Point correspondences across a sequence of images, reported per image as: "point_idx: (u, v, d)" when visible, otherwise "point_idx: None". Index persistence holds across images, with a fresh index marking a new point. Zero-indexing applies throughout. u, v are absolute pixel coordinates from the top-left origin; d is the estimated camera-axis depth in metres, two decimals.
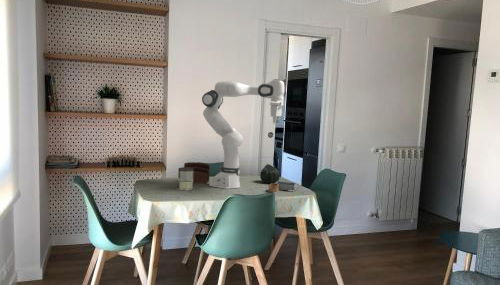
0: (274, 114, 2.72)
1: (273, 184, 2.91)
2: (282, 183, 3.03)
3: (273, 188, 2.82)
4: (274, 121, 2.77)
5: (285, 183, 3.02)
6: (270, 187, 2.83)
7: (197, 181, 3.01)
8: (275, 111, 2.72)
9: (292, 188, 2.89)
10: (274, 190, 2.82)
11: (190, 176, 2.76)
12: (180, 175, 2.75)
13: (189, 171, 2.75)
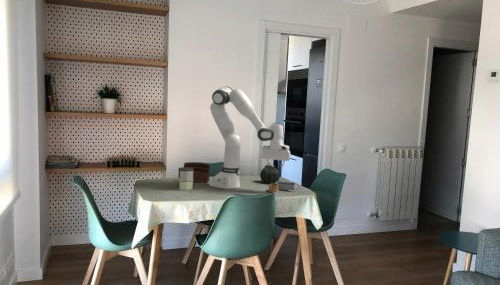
0: None
1: (273, 184, 2.91)
2: (282, 183, 3.03)
3: (273, 188, 2.82)
4: None
5: (285, 183, 3.02)
6: (270, 187, 2.83)
7: (197, 181, 3.02)
8: None
9: (292, 188, 2.89)
10: (274, 190, 2.82)
11: (190, 176, 2.76)
12: (180, 175, 2.75)
13: (189, 171, 2.75)
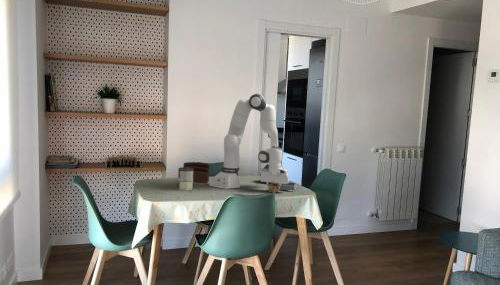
0: (288, 181, 2.84)
1: (273, 184, 2.91)
2: None
3: (273, 188, 2.82)
4: (279, 187, 2.86)
5: None
6: (270, 187, 2.83)
7: (198, 181, 3.03)
8: (288, 178, 2.85)
9: (292, 188, 2.89)
10: (274, 190, 2.82)
11: (190, 176, 2.76)
12: (180, 175, 2.75)
13: (189, 171, 2.75)
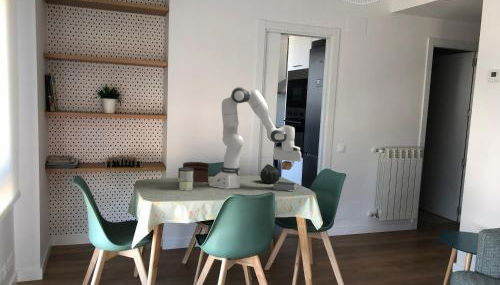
0: None
1: (286, 162, 2.99)
2: (282, 183, 3.03)
3: (286, 165, 2.91)
4: (292, 165, 2.94)
5: (285, 183, 3.02)
6: (283, 164, 2.91)
7: (198, 180, 3.04)
8: None
9: (292, 188, 2.89)
10: (287, 167, 2.91)
11: (190, 176, 2.76)
12: (180, 175, 2.75)
13: (189, 171, 2.75)
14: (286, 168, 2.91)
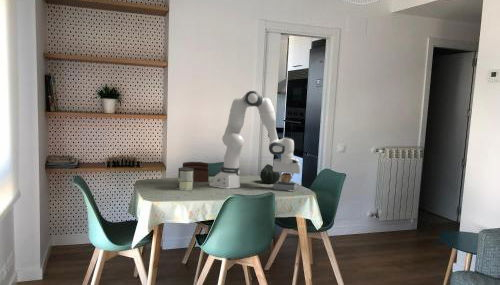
0: (300, 171, 2.94)
1: (285, 174, 3.00)
2: (282, 183, 3.03)
3: (286, 177, 2.92)
4: None
5: (285, 183, 3.02)
6: (283, 176, 2.92)
7: (199, 180, 3.05)
8: (300, 168, 2.94)
9: (292, 188, 2.89)
10: (287, 179, 2.92)
11: (190, 176, 2.76)
12: (180, 175, 2.75)
13: (189, 171, 2.75)
14: (286, 180, 2.92)
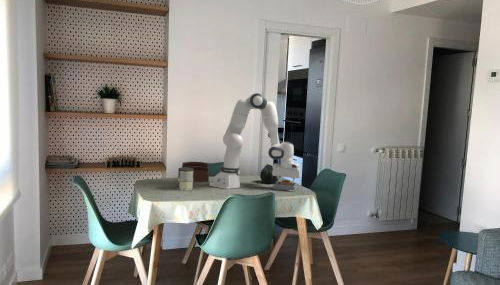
0: None
1: (284, 181, 3.01)
2: None
3: (285, 184, 2.92)
4: None
5: None
6: (282, 183, 2.93)
7: (199, 180, 3.06)
8: None
9: (292, 188, 2.89)
10: None
11: (190, 176, 2.76)
12: (180, 175, 2.75)
13: (189, 171, 2.75)
14: None
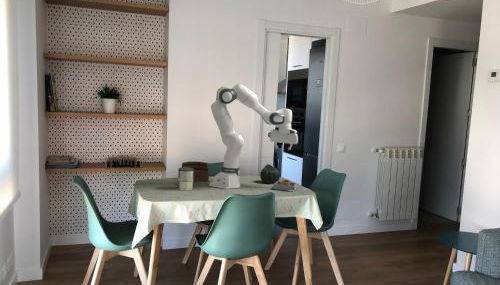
0: (297, 142, 2.96)
1: (284, 181, 3.01)
2: None
3: (285, 184, 2.92)
4: (290, 148, 2.97)
5: None
6: (282, 183, 2.93)
7: (199, 180, 3.06)
8: (297, 139, 2.97)
9: (292, 188, 2.89)
10: None
11: (190, 176, 2.76)
12: (180, 175, 2.75)
13: (189, 171, 2.75)
14: None
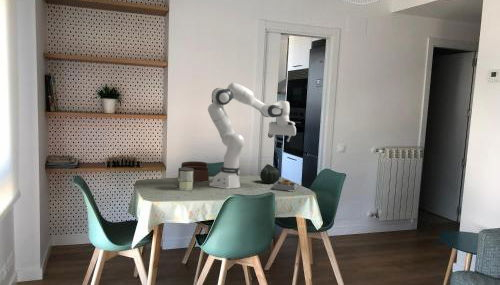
0: (295, 133, 2.98)
1: (284, 181, 3.01)
2: None
3: (285, 184, 2.92)
4: None
5: None
6: (282, 183, 2.93)
7: (199, 179, 3.07)
8: (295, 130, 2.99)
9: (292, 188, 2.89)
10: None
11: (190, 176, 2.76)
12: (180, 175, 2.75)
13: (189, 171, 2.75)
14: None
